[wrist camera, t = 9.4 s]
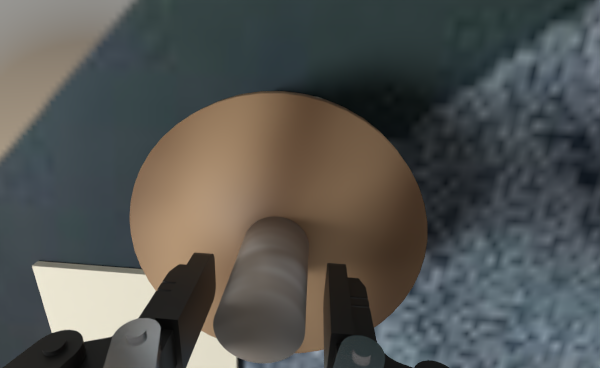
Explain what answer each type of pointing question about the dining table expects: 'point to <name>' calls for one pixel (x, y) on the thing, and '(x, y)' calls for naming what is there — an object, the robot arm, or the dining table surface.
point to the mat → (109, 305)
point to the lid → (279, 216)
